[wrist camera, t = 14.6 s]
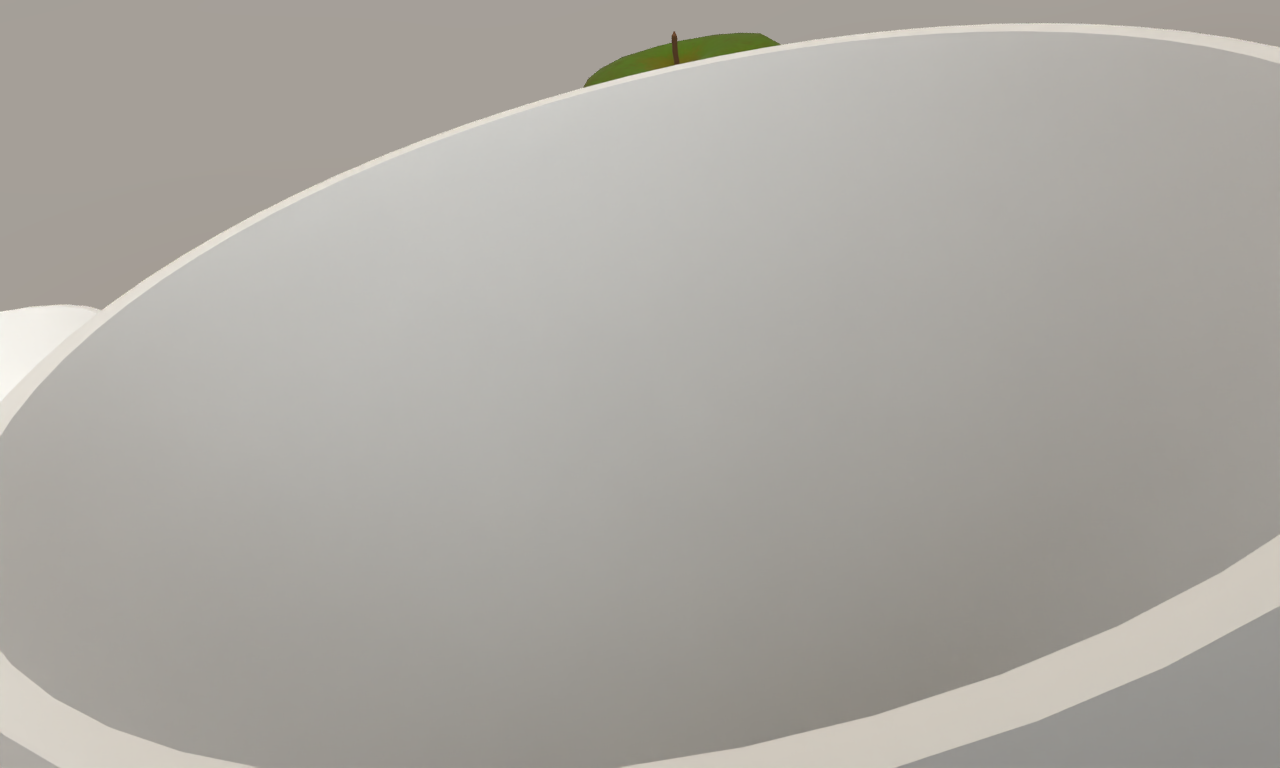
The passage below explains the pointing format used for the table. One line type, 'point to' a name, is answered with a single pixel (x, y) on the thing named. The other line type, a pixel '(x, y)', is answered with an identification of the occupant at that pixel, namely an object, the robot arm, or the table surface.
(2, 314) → the bowl
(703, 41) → the apple
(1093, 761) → the cup
